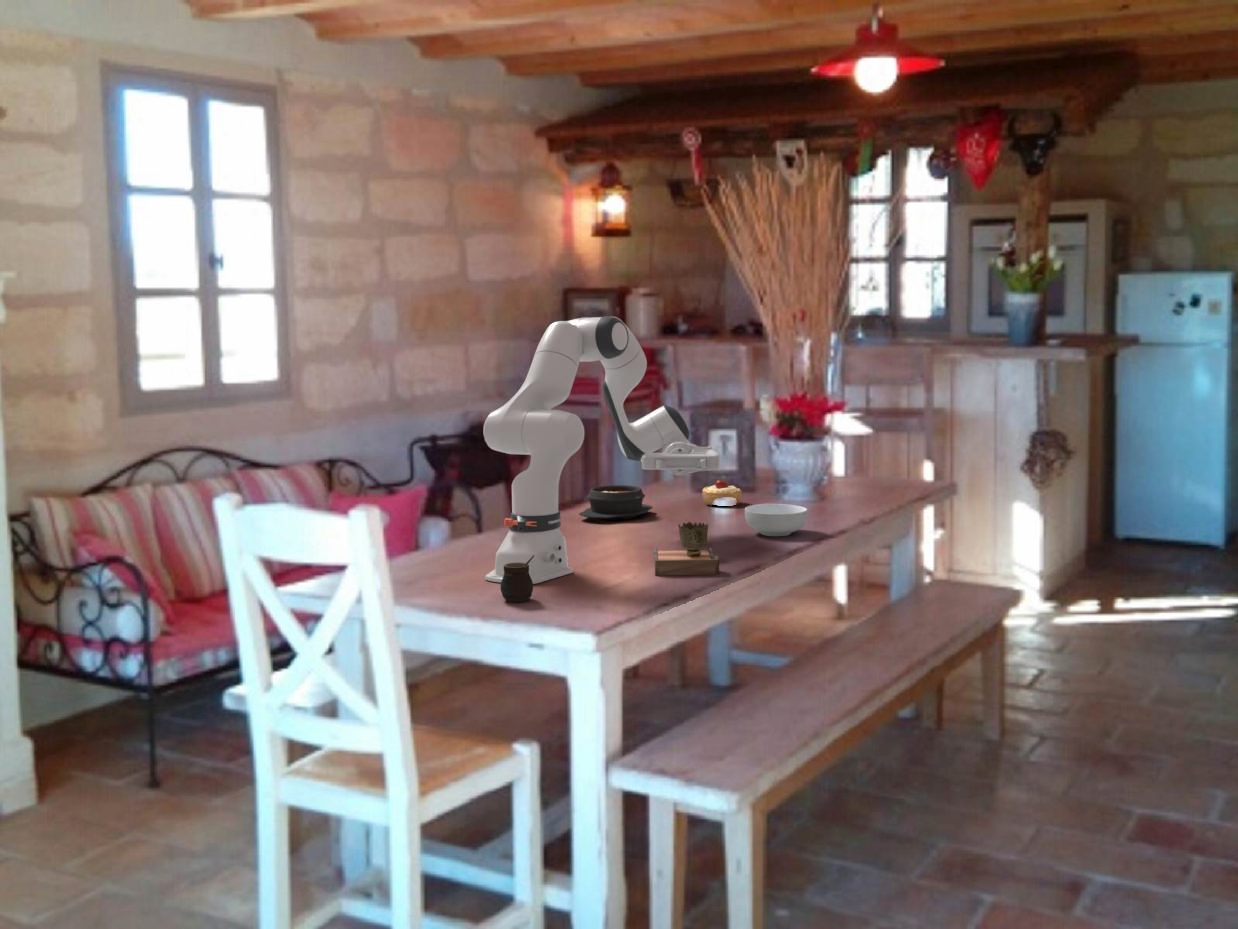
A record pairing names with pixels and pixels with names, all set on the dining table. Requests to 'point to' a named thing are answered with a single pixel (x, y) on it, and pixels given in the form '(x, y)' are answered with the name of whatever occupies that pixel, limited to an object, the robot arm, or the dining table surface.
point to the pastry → (720, 492)
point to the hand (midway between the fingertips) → (681, 465)
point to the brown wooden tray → (685, 563)
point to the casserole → (615, 502)
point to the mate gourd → (517, 582)
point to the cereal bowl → (775, 518)
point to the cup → (693, 537)
